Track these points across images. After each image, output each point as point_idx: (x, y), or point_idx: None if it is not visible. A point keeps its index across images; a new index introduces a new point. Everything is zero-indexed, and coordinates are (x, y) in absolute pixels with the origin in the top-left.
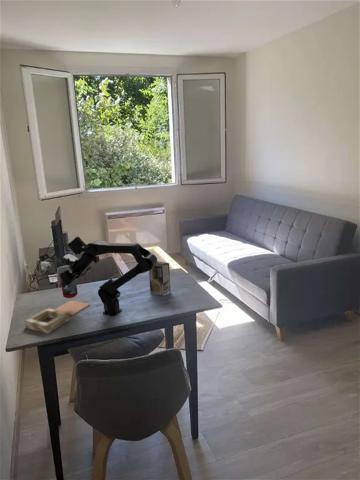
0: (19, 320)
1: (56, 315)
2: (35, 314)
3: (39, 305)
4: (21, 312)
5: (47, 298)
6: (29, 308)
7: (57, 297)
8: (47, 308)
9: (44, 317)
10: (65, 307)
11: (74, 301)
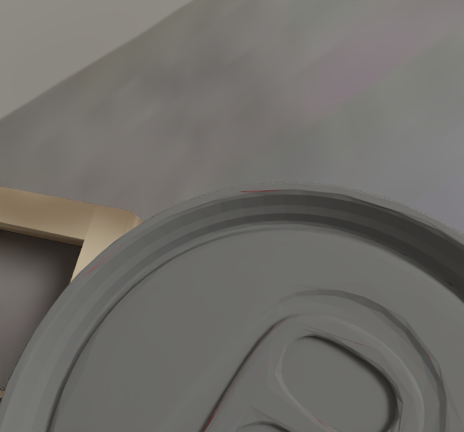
0: (66, 97)
1: None
2: (17, 190)
3: (282, 75)
4: (167, 39)
5: (408, 53)
6: (227, 45)
7: (452, 112)
8: (120, 217)
9: (74, 242)
10: None
11: None
